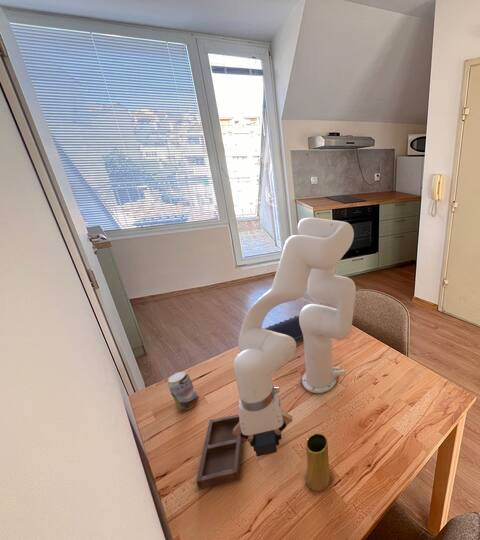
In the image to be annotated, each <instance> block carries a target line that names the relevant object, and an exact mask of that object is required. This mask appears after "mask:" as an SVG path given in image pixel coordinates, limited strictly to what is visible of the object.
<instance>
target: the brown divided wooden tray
mask: <svg viewBox="0 0 480 540" xmlns="http://www.w3.org/2000/svg"><path fill="white" fill-rule="evenodd" d="M239 421H240V419H239V413H238V414H234V415H229V416H228V415H227V416H223V417H217V418H213V419H209V422H208V426H207V430H206V434H205V435H206V436H205V439H204V445H203V450H202V453H201V458H200V463H199V467H198V471H197V476H196V480H195V481H196V486H197V488H198V490H201V489H205V488H209V487H214V486H218V485H222V484H226V483H229V482H232V481H237V480H240V470H241V462H242V461H241V458H242V450H243V439H244V438H242V437H241V436H240V435H239V436H238V435H233V429H234V427H235V426H236V425H237V424H238V422H239Z"/></svg>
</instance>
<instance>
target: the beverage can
mask: <svg viewBox="0 0 480 540" xmlns="http://www.w3.org/2000/svg"><path fill="white" fill-rule="evenodd" d="M167 388H168V389H169V391H170V394H171V396H172V398H173V400H174V402H175V404H176V407H177V409H178V410H180V411H185V410H189V409H191V408H192V407H195V405H196V404H197V403H198V401H199V397H198V394H197V392H196V389H195V387H194V385H193V382H192V379H191V377H190V375H189V373H187V372H185V371H184V370H182V371H177V372H175V373H173V374H172V375H170V376H169V378H168V380H167Z"/></svg>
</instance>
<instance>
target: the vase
mask: <svg viewBox="0 0 480 540" xmlns="http://www.w3.org/2000/svg"><path fill="white" fill-rule="evenodd" d="M305 449H306V450H305V451H306V470H307V471H306V472H307V475H306V483H307V486H308V488H309V489H311V490H313V491H315V492H320V491H324V490H325V489H326V488H327V487H328V485H329V484H330V482H331V472H330V459H329V441H328V438H327V436H326V435H325V434H323V433H319V432H315V433H312V434H311V435H310V436H308V438H307V439H306V442H305Z"/></svg>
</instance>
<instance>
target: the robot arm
mask: <svg viewBox="0 0 480 540" xmlns="http://www.w3.org/2000/svg"><path fill="white" fill-rule="evenodd" d="M354 237H355V231H354V228H353V226H352V224H350V223H349V222H347V221H342V220H334V219H326V218H320V217H305V218H302V219H300V220H299V222H298V224H297V234H294V235H291V236H289V237H288V238H287V239H286V240H285V243H284V245H283V248H282V252H281V255H280V258H279V262H278V265H277V268H276V272H275V275H274V279H273V281H272V284H271V287H270V288H269V290H267V291H266V292H265V293H264V294H263V295H261V296H260V297H259V298H258V299H257V300H256V301H255V302H254V303H253V304H252V306H251V307H250V308H249V309H248V311H247V312H246V314H245V316H244V319H243V322H242V326H241V328H240V332H239V335H238V340H237V341H238V342H237V345H238V350H239V353H238V354H237V355H236V356H235V358H234V360H233V363H232V369H233V372H234V378H235V382H236V386H237V390H238V394H239V400H238V414H239V419H240V421H239V422H238V424H237V425H236V426H235V427H234V429H233V435H238V436H239V435H240V436H241V437H242V438H243V439H245V440H247V442H248V443H249V444H250V445H249V446H250V447H252V448H253V451H254V452H256V451H255V434H258V433H262V432H267V431H271V430H274V432H275V440H276V445H277V446H280V441H282V432H283V431H284V430H285V429H286V428H287V426H288V425H290V424H291V423H292V422H293V416H292V415H291V414H289V413H287V412H286V411H283V405H282V401H281V398H280V395H279V393H280V386H275V385H274V384H273V380H272V374H273V373H275V372H276V371H278V370H279V369H281V368H282V367H284V366H285V365H287V363H289V362H290V360H292V358H293V357H294V355H295V353H296V350H297V341H295V340H294V339H293V338H292V337H291V336H288V335H285V334H281V333H277V332H274V331H270V330H266V329H265V328H263V323H264V321H265V318H266V317H267V315H268V314H269V313H270V312H271V311H272V310H273V309H274V308H276V307H278V306H279V305H282V304H285V303H289V302H293V301H298V300H301V299H303V298H304V296H305V293H306V295H307V296H308V298H309V300H312V301H315V302H319V303H323V304H327V305H332V306H335V307H331V306H327V305H322V304H317V303H309V304H305V306H303V307H302V308H301V310H300V312H299V315H298V316H299V323H300V327H301V330H302V334H303V338H302V340H303V351H304V352H303V353H304V364H305V365H304V366H305V367H304V368H305V372H304V373H303V374H302V377H301V383H302V386H303V388H304V389H305V390H306V391H308V392H310V393H313V394H322V393H326V392H329V391H330V390H331V389H333V388H334V386H336V384H337V379H338V378H337V377H339V376H340V377H341V376H345V375H346V370H345V369H341V366H340V365H338V366H333V342H332V339H334V340H342V341H343V340H346V339H347V338H348V337H349V336H350V334H351V332H352V327H353V322H354V321H353V319H354V313H355V305H356V294H357V287H356V283H355V281H354V280H353V278H350V277H348V276H343V275H337V274H336V269H337V267H336V266H337V265H338V264H339V262H340V261H341V259H342V258H343V257H344V255H346V253H347V252H348V251H349V249H350V248H351V246H352V244H353V241H354Z"/></svg>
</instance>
